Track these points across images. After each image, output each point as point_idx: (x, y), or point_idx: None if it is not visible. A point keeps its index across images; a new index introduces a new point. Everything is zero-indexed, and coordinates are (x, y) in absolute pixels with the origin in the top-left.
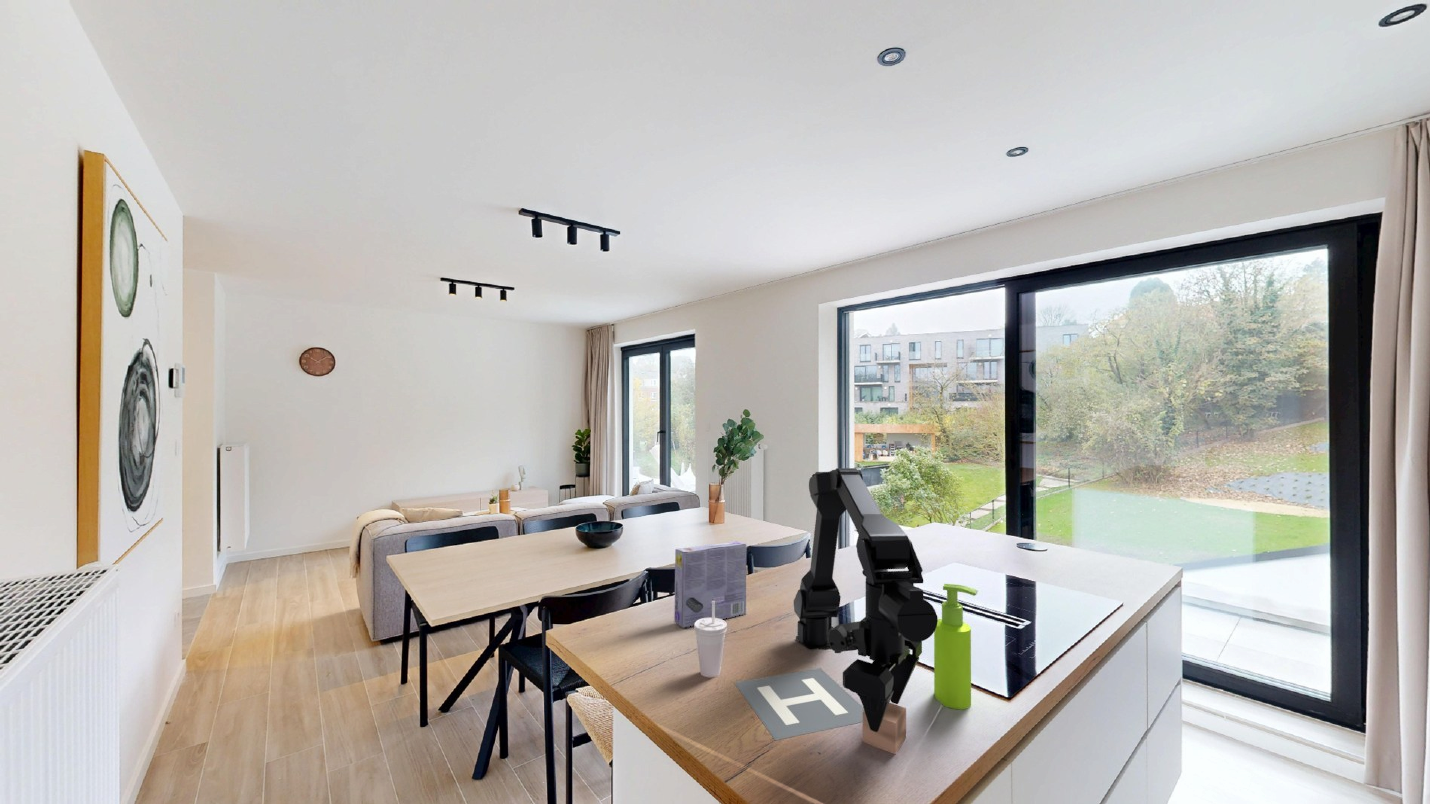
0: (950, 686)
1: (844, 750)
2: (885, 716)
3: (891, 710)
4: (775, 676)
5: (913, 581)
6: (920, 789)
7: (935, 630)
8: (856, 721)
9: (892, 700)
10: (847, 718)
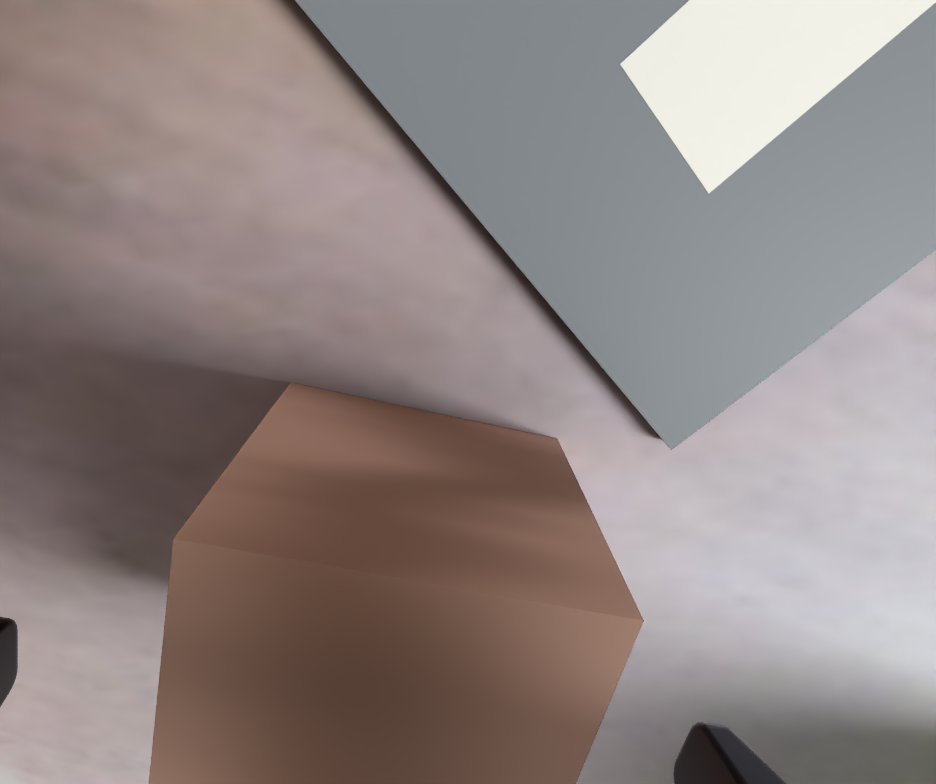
0: None
1: (117, 252)
2: (226, 781)
3: None
4: None
5: None
6: (14, 750)
7: None
8: (574, 296)
9: (700, 754)
10: (595, 203)
